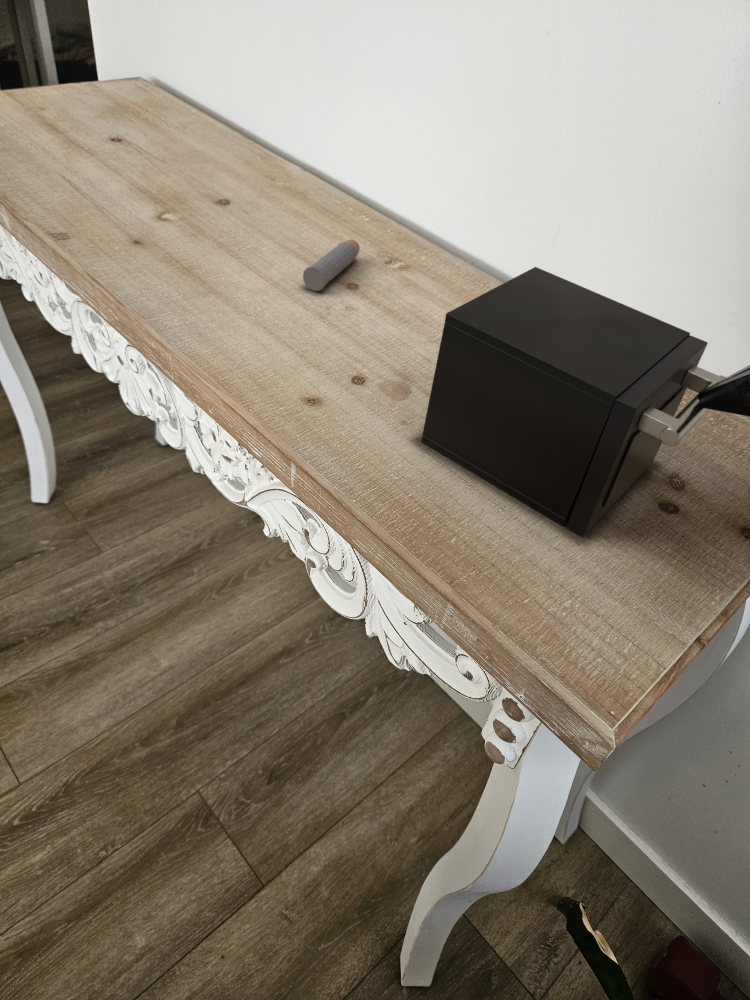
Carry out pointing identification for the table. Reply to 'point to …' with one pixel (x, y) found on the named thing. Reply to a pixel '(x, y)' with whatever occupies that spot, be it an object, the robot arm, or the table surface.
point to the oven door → (642, 429)
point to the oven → (537, 384)
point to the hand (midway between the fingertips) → (701, 399)
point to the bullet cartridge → (330, 265)
